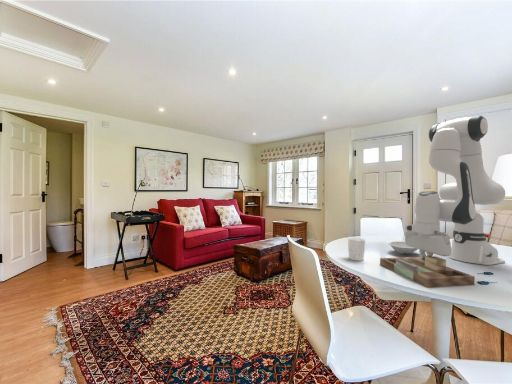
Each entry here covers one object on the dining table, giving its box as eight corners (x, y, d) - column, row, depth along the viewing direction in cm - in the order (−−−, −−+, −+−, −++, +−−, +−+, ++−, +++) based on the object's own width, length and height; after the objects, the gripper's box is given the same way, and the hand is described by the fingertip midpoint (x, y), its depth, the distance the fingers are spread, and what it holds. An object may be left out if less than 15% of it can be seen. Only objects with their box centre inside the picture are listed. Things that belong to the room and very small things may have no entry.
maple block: (435, 265, 104) (435, 256, 104) (445, 269, 99) (446, 259, 99) (424, 266, 104) (424, 256, 103) (435, 270, 99) (435, 260, 99)
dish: (396, 248, 146) (397, 240, 145) (425, 254, 134) (425, 244, 134) (383, 253, 135) (383, 244, 134) (412, 259, 123) (412, 249, 123)
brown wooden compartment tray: (418, 263, 118) (418, 251, 118) (474, 284, 92) (474, 269, 92) (380, 264, 114) (380, 252, 114) (427, 287, 89) (427, 272, 89)
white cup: (367, 258, 124) (367, 239, 123) (361, 262, 118) (361, 241, 118) (351, 255, 129) (351, 236, 129) (345, 258, 123) (345, 238, 123)
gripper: (456, 233, 96) (455, 268, 96) (414, 225, 116) (413, 254, 117) (442, 233, 95) (441, 269, 95) (402, 225, 115) (401, 254, 116)
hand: (425, 261), depth 106 cm, fingers closed
